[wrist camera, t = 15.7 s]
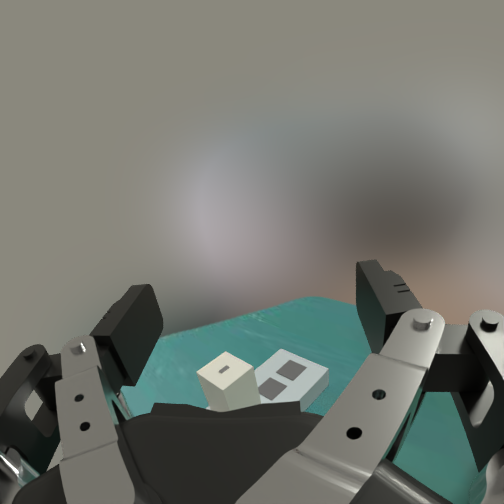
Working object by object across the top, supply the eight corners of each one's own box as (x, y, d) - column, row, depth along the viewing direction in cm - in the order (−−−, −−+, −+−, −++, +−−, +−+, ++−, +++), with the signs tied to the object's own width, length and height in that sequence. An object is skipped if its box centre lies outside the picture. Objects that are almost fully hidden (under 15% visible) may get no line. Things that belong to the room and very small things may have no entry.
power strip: (283, 364, 49) (280, 345, 47) (328, 384, 43) (328, 365, 41) (188, 440, 37) (179, 423, 35) (233, 477, 30) (225, 462, 29)
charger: (243, 412, 40) (225, 350, 35) (266, 427, 37) (253, 365, 32) (220, 431, 37) (195, 371, 32) (243, 448, 34) (222, 389, 29)
